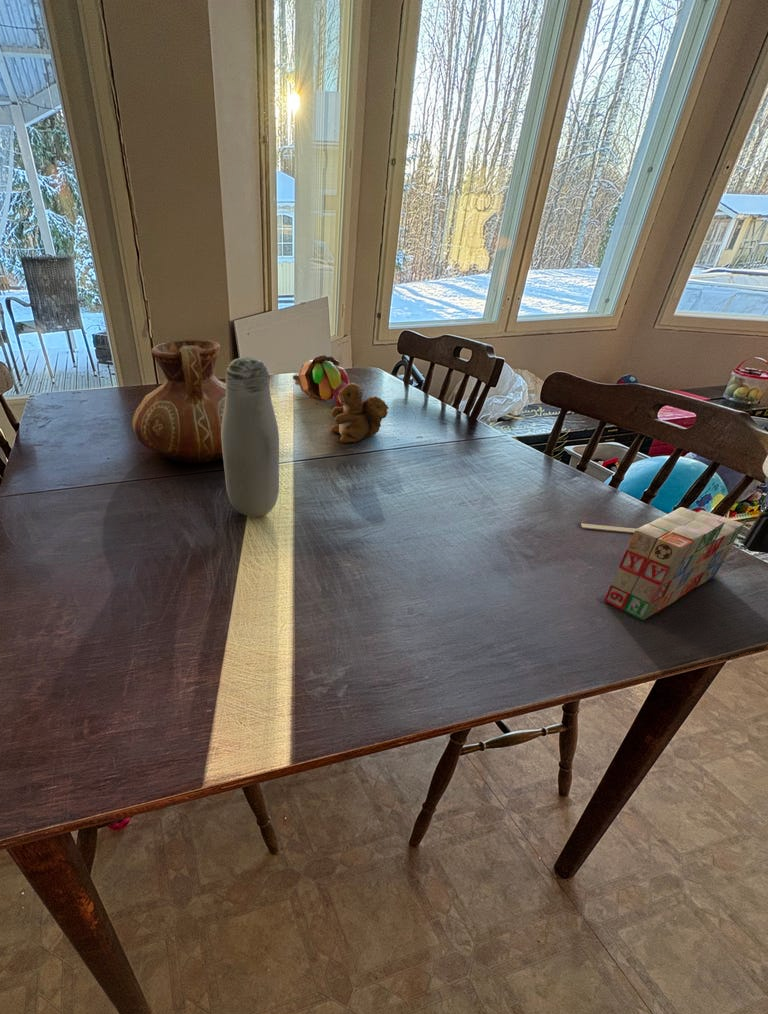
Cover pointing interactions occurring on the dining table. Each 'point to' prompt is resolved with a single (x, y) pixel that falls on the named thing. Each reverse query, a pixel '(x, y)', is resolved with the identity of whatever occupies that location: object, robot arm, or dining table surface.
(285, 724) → the dining table surface
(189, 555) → the dining table surface
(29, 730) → the dining table surface
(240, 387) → the grey bottle
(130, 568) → the dining table surface
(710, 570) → the stack of blocks
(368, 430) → the stuffed squirrel
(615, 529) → the strip
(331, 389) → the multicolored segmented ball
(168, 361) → the jug
